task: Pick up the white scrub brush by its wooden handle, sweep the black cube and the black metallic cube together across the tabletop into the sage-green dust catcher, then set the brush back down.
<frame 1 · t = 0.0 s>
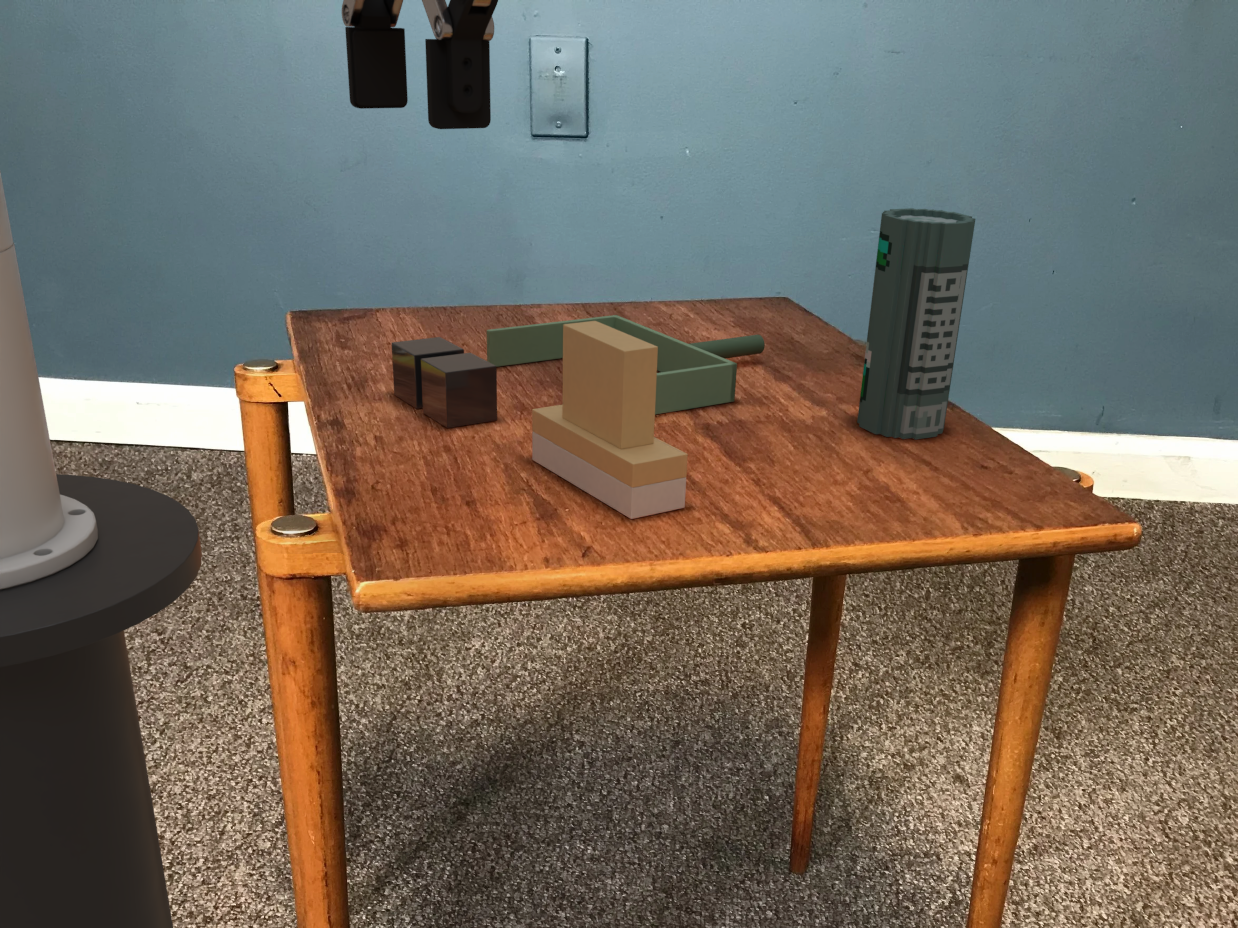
hand: (417, 117, 69), 22 cm above the table, tool pointing down, fingers open, 9 cm apart
can: (899, 428, 97), on the table
brush: (605, 483, 83), on the table
black cube: (460, 416, 94), on the table
dustpan: (604, 383, 103), on the table
black metallic cube: (429, 398, 98), on the table
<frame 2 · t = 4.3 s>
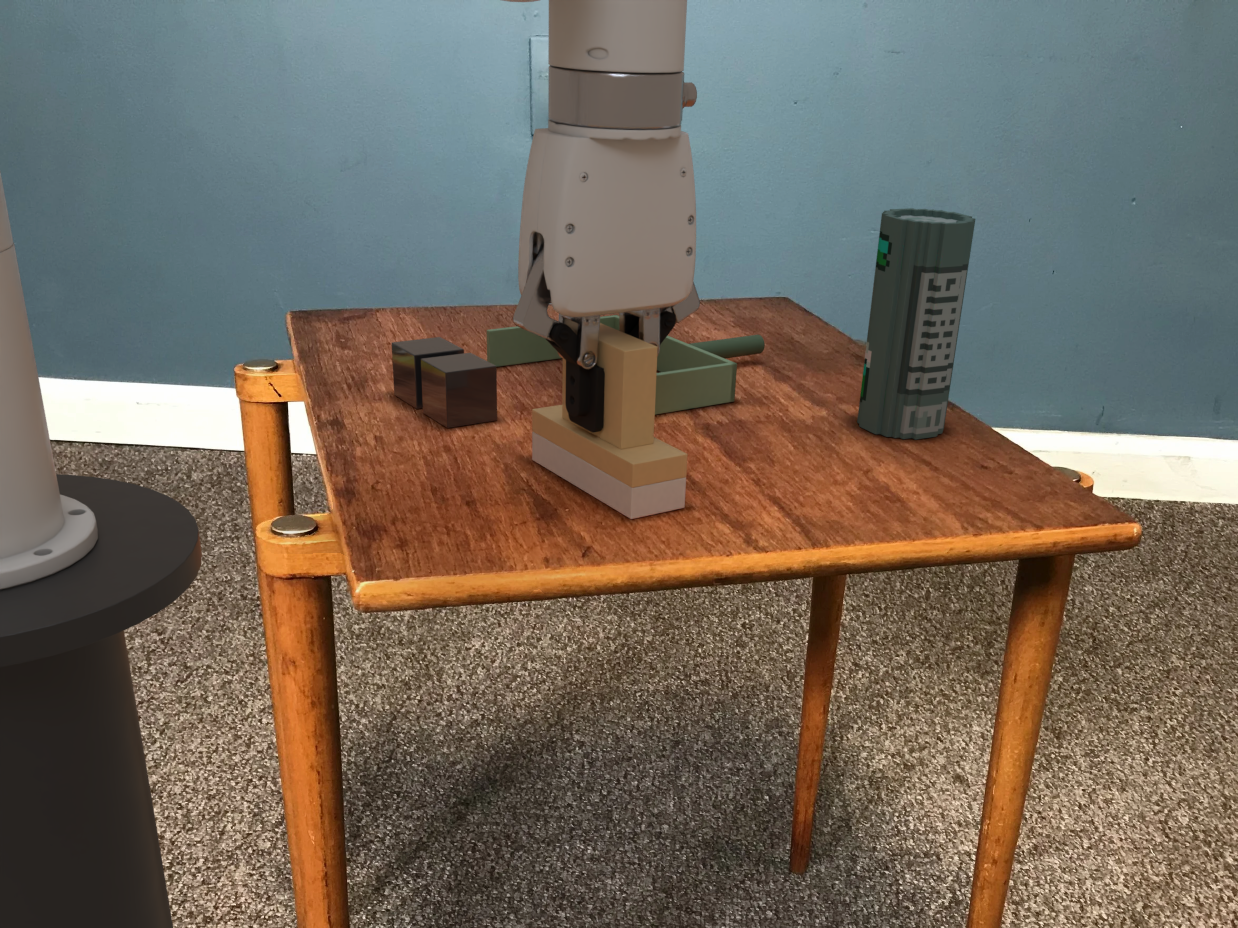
hand: (606, 420, 81), 4 cm above the table, tool pointing down, fingers closed on brush, 2 cm apart
brush: (605, 483, 83), on the table, touching gripper
everything else where it was.
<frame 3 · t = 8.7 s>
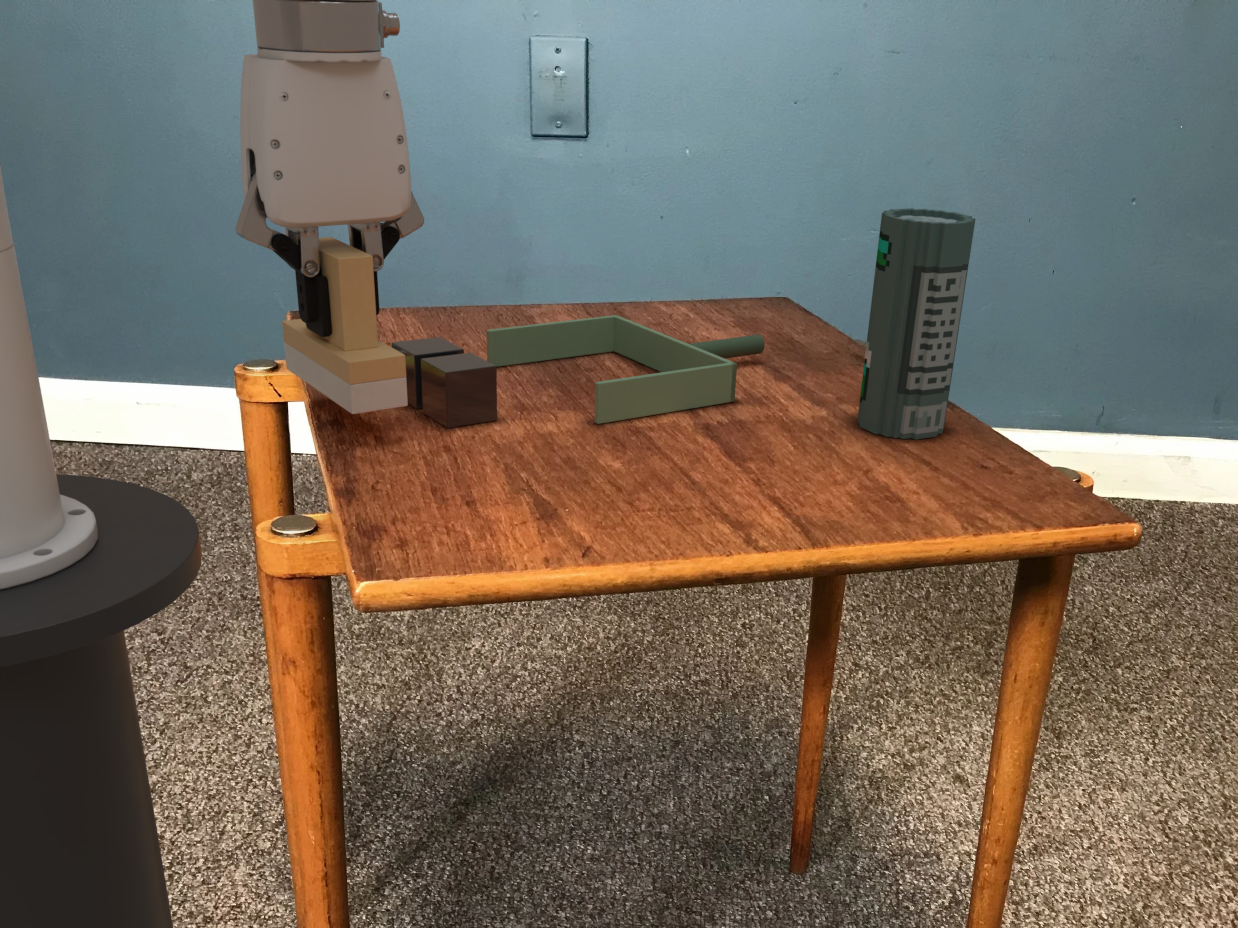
hand: (340, 327, 89), 7 cm above the table, tool pointing down, fingers closed on brush, 2 cm apart
brush: (345, 387, 91), point 2 cm above the table, touching gripper
everything else where it was.
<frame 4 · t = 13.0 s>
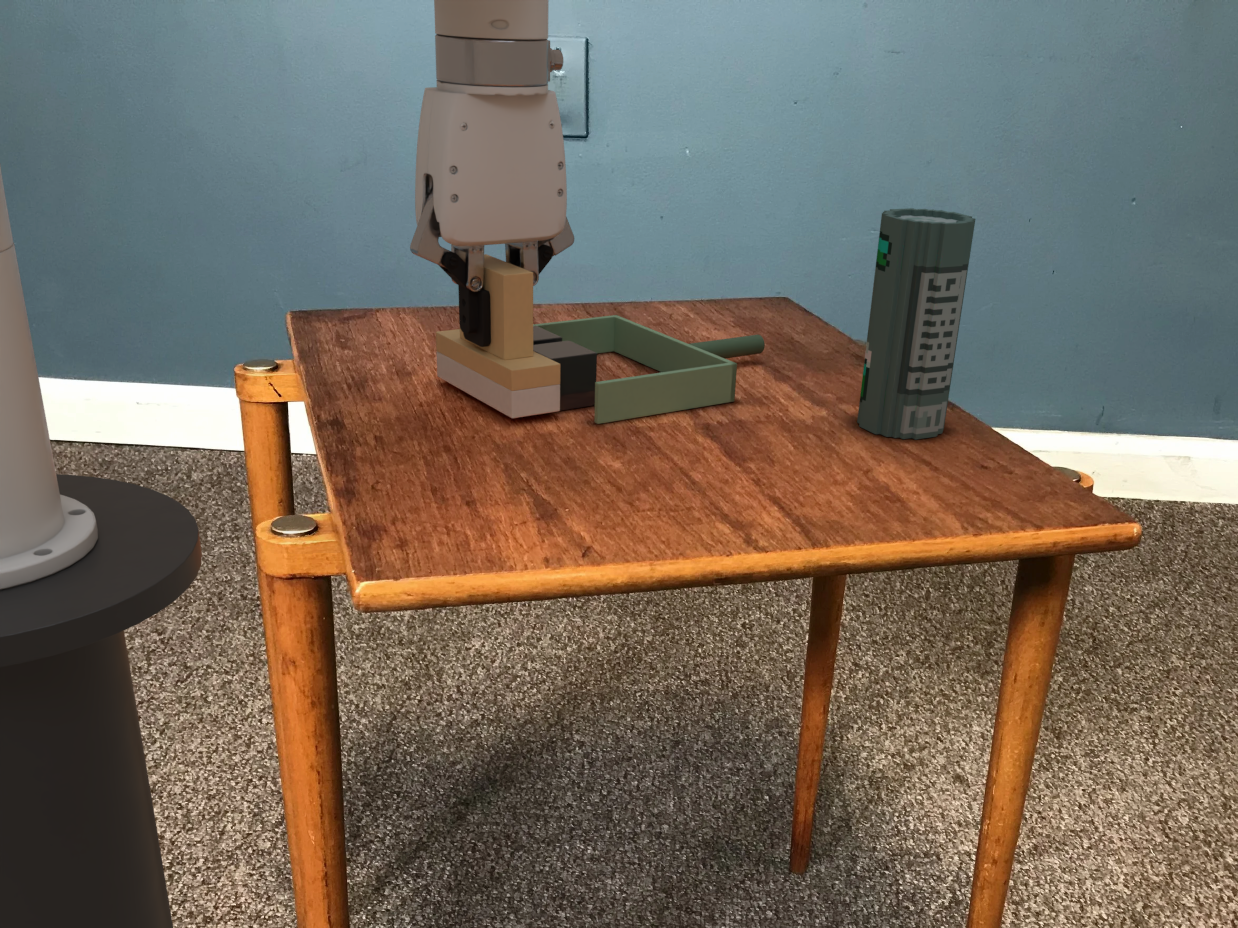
hand: (495, 338, 96), 5 cm above the table, tool pointing down, fingers closed on brush, 2 cm apart
brush: (496, 393, 98), on the table, touching gripper, black cube
black cube: (559, 401, 98), on the table, touching brush
black metallic cube: (527, 384, 102), on the table
everything else where it was.
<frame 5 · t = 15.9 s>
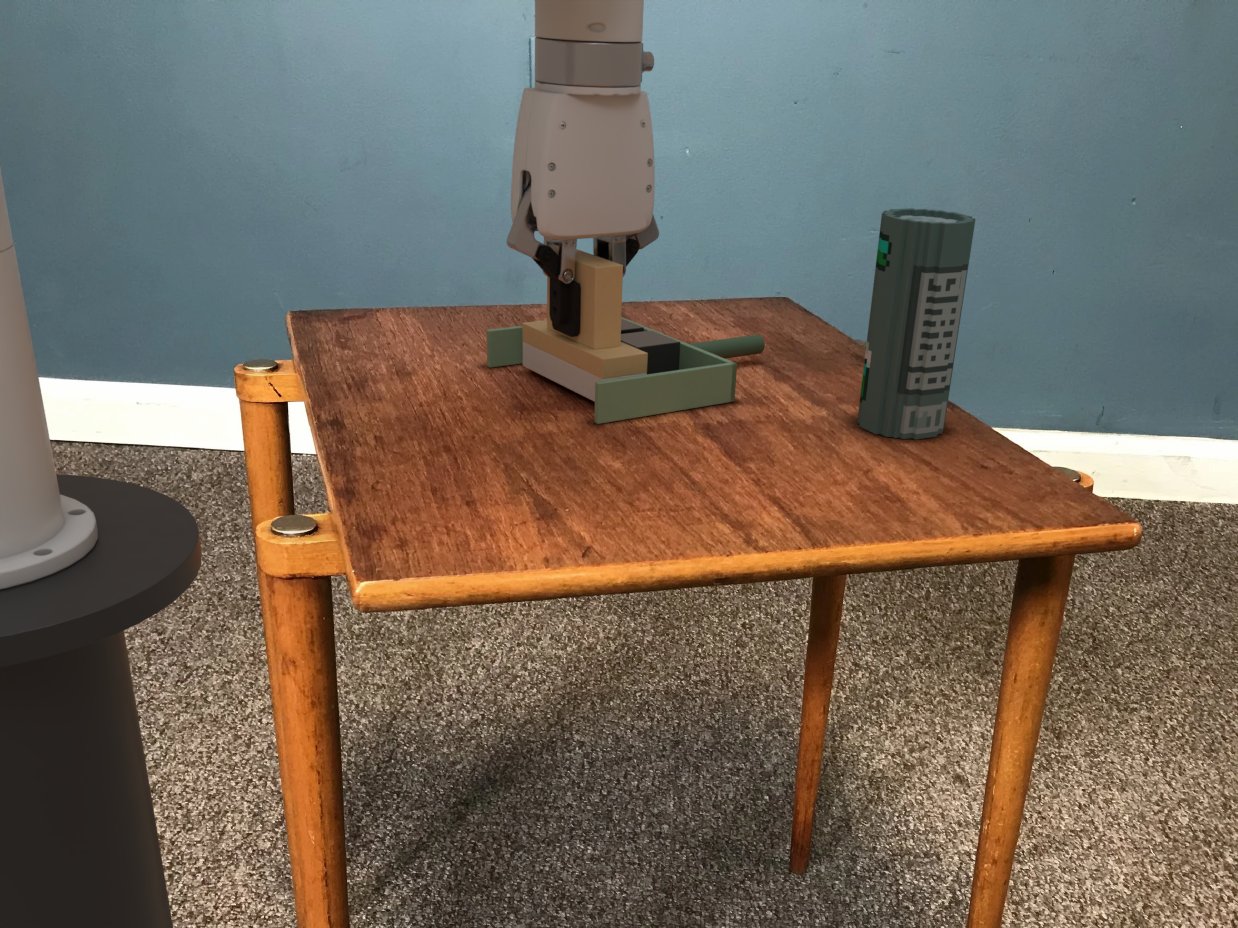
hand: (583, 328, 100), 5 cm above the table, tool pointing down, fingers closed on brush, 2 cm apart
brush: (582, 381, 102), on the table, touching gripper
black cube: (642, 389, 102), on the table
black metallic cube: (608, 373, 106), on the table
everything else where it was.
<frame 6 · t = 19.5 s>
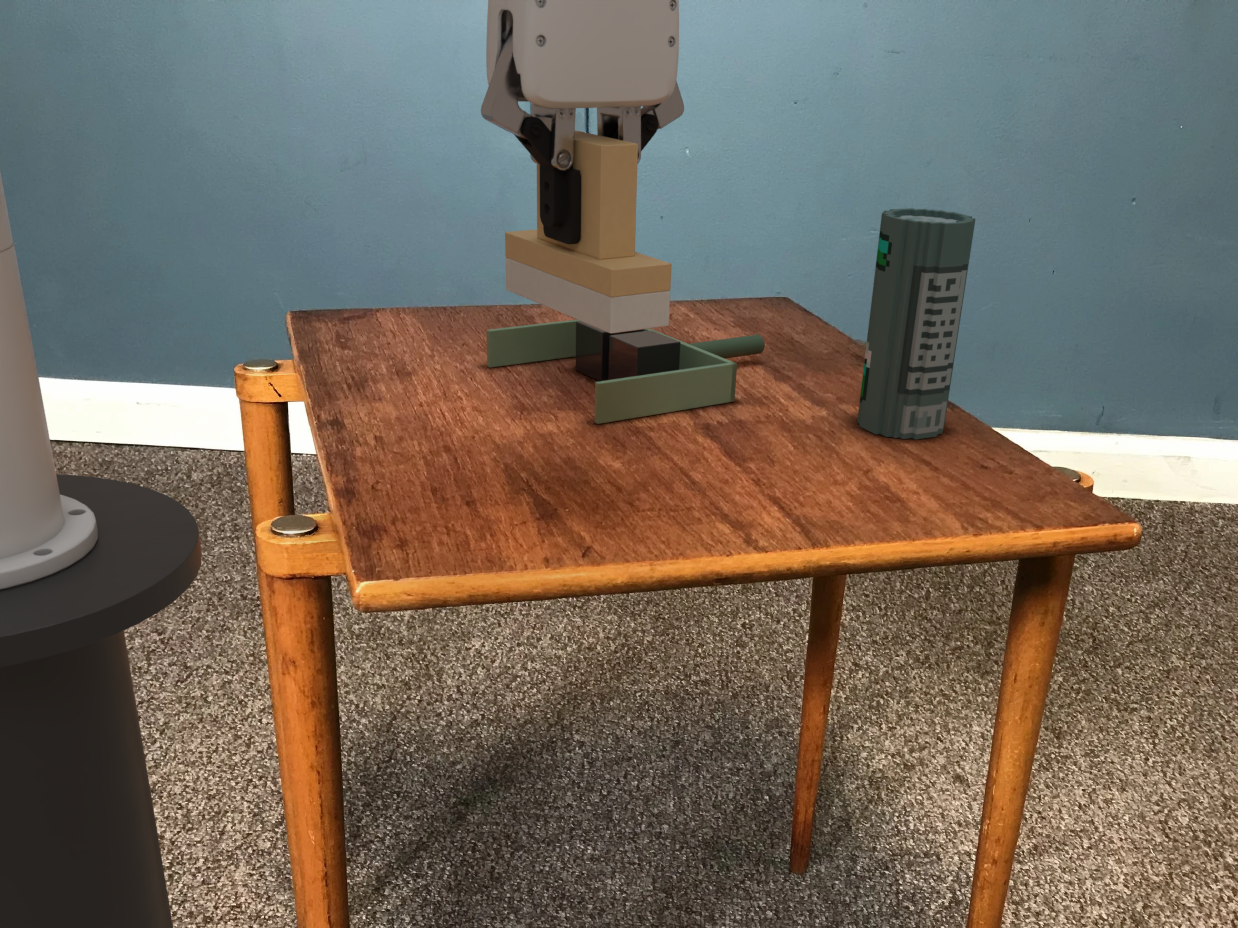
hand: (584, 235, 76), 15 cm above the table, tool pointing down, fingers closed on brush, 2 cm apart
brush: (584, 307, 78), point 11 cm above the table, touching gripper
everything else where it was.
when the fingers open (4 cm above the table, at t = 22.0 s): brush stays where it is, on the table.
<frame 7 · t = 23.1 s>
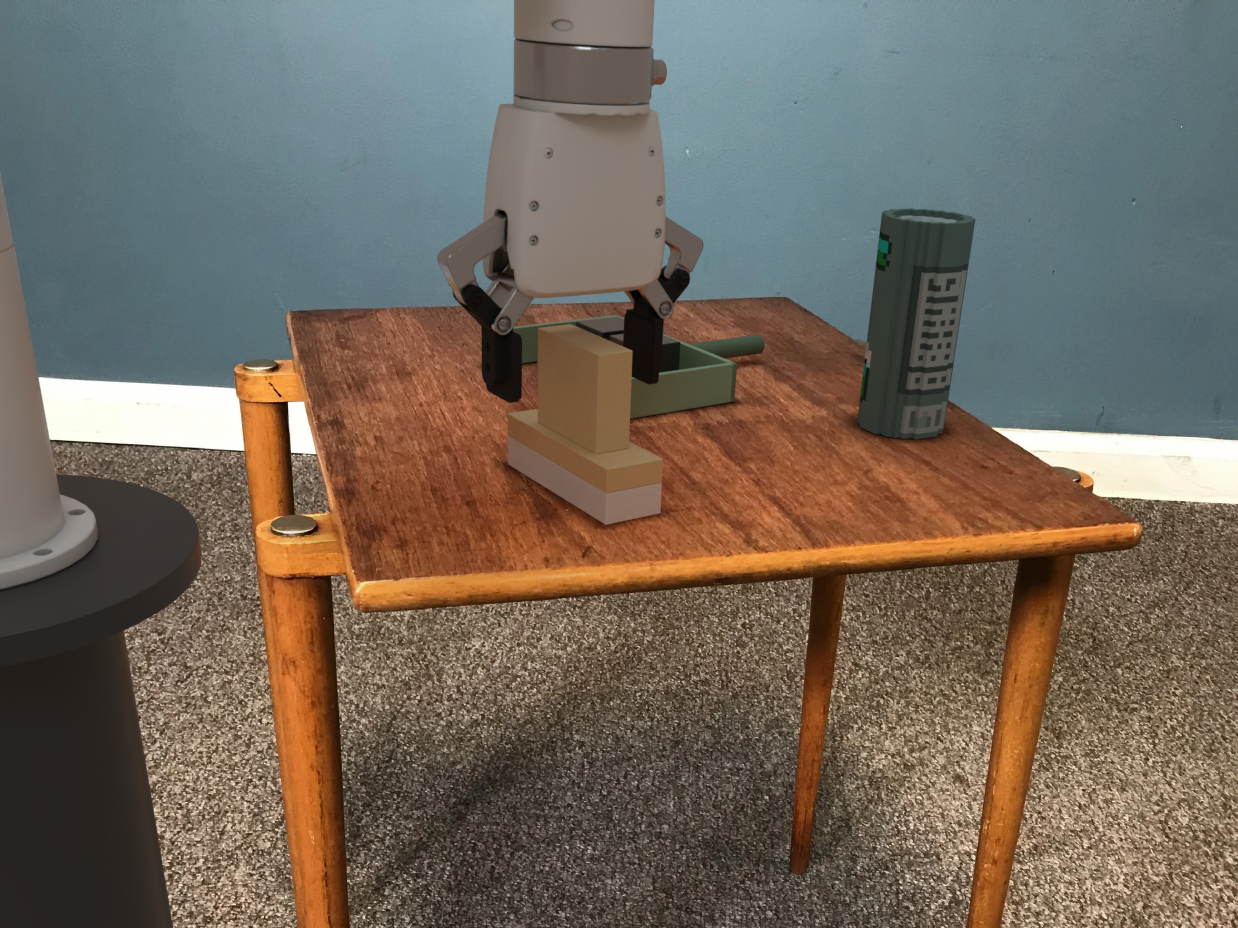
hand: (573, 387, 79), 7 cm above the table, tool pointing down, fingers open, 9 cm apart
brush: (581, 488, 82), on the table
everything else where it was.
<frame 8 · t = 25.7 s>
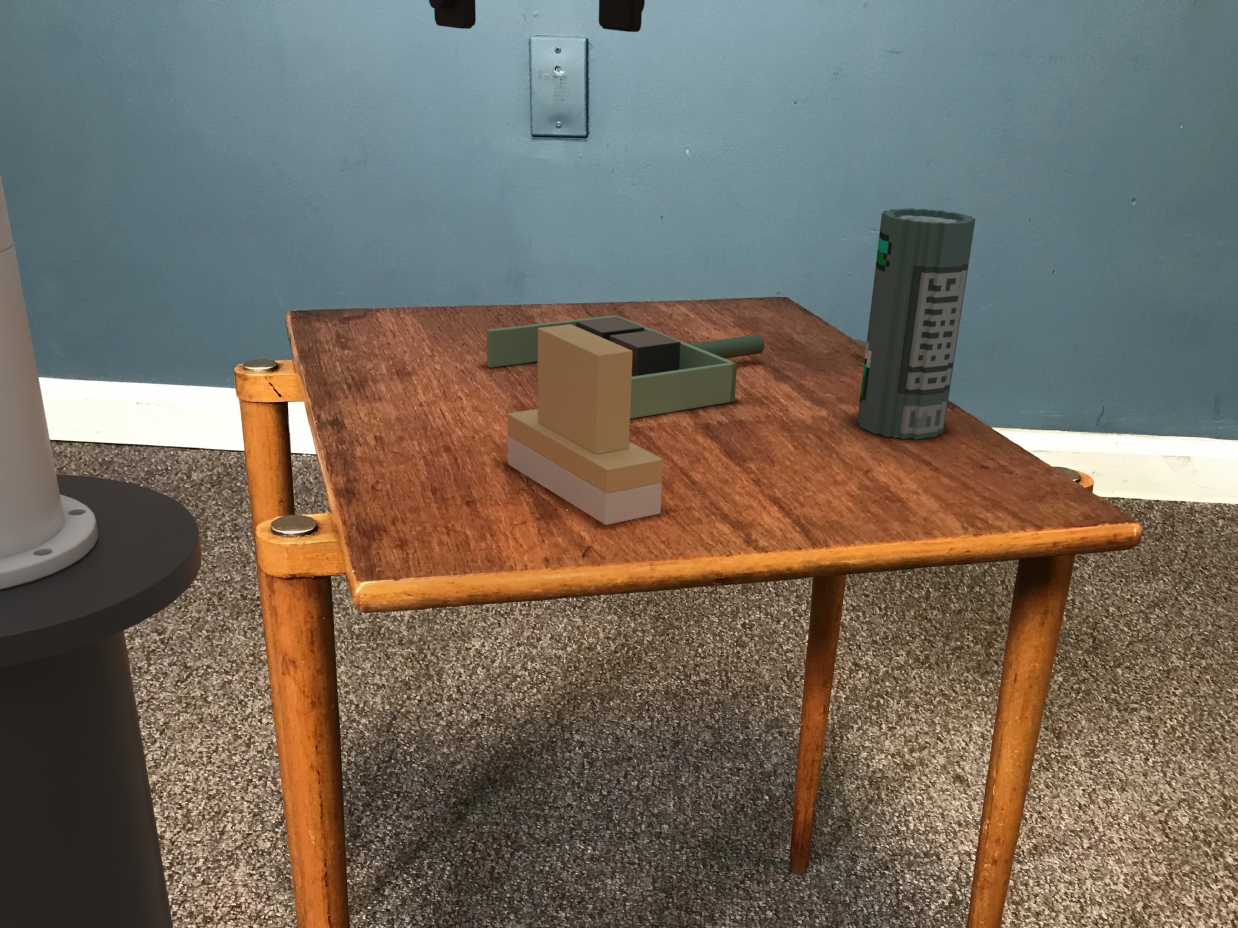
hand: (540, 28, 67), 26 cm above the table, tool pointing down, fingers open, 9 cm apart
nothing on the table moved.
at the end: black cube inside the target area on the dustpan (3.2 cm from its centre), point 0.0 cm above the dustpan's base; black metallic cube inside the target area on the dustpan (3.1 cm from its centre), point 0.0 cm above the dustpan's base; the gripper is holding nothing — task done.
